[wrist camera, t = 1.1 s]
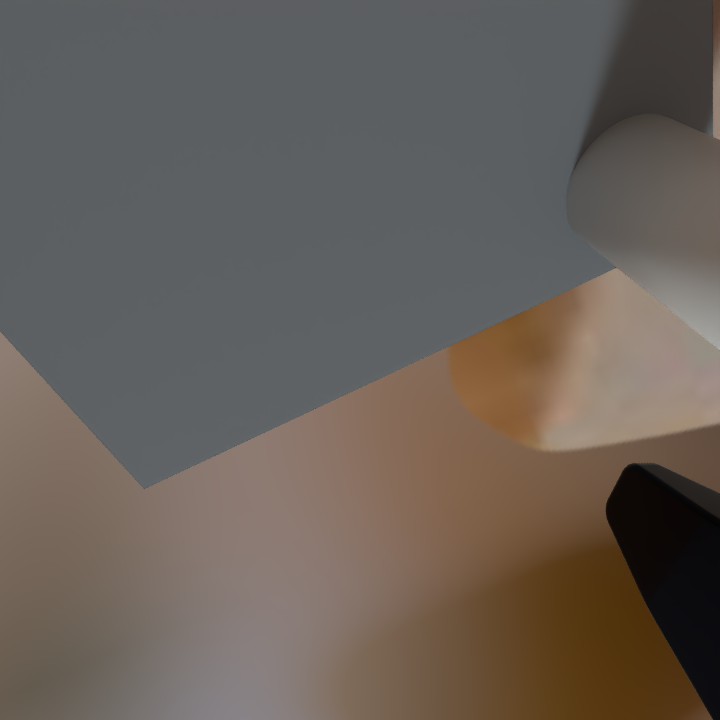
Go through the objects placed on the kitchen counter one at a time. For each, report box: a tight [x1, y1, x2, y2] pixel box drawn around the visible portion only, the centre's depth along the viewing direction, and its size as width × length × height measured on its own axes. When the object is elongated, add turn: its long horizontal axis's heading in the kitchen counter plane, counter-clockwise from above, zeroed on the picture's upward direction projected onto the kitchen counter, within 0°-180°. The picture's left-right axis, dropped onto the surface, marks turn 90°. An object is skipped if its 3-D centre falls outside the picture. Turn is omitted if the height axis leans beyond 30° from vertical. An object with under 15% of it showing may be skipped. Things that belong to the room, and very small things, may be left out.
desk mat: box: [0, 0, 713, 489], centre depth 18 cm, size 22×18×1 cm
